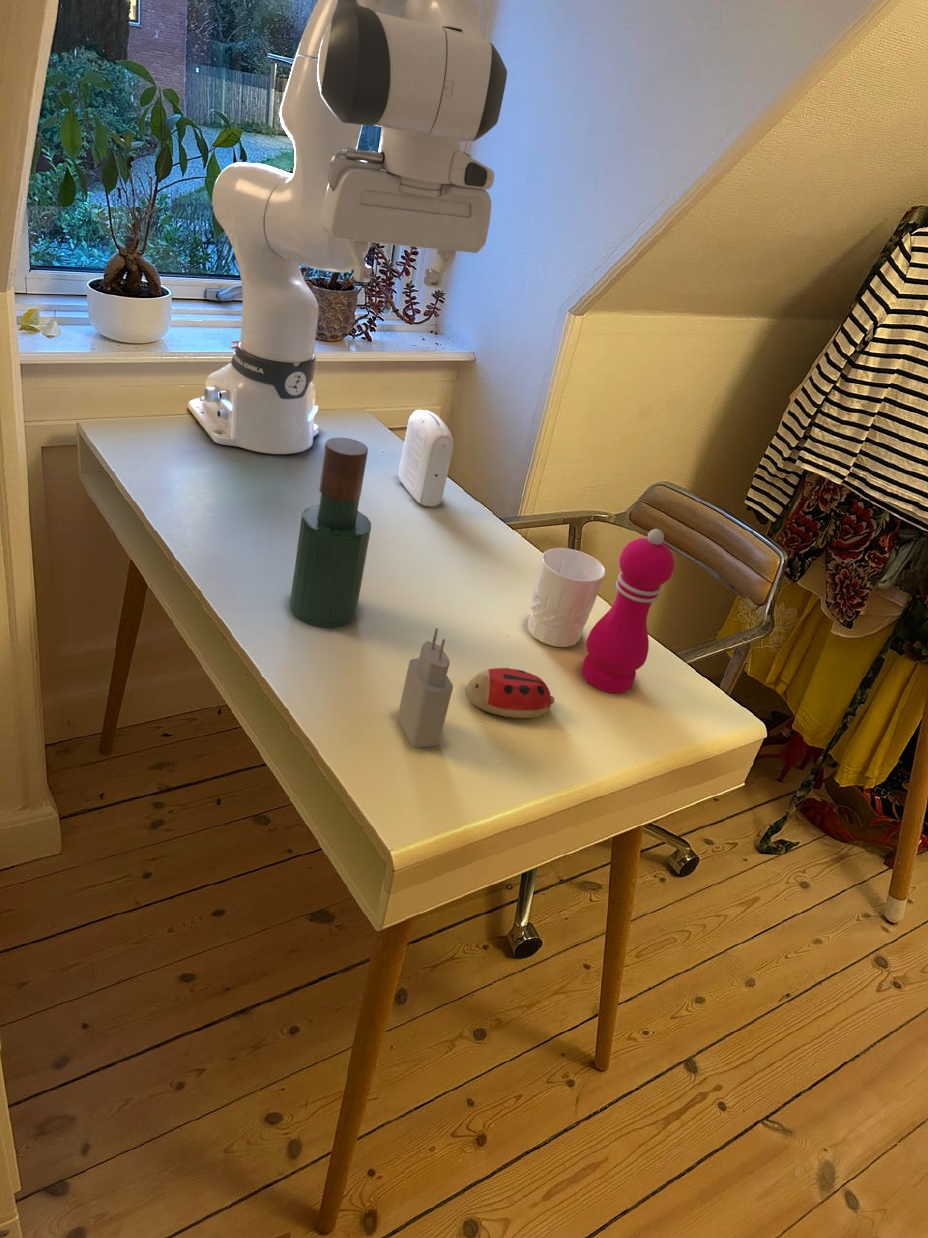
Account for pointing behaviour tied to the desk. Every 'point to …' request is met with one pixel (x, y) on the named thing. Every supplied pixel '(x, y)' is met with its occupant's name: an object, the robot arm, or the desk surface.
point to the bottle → (329, 563)
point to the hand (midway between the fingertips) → (397, 283)
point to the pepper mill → (628, 615)
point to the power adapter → (426, 696)
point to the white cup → (564, 596)
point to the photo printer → (426, 457)
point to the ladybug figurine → (509, 693)
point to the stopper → (343, 469)
